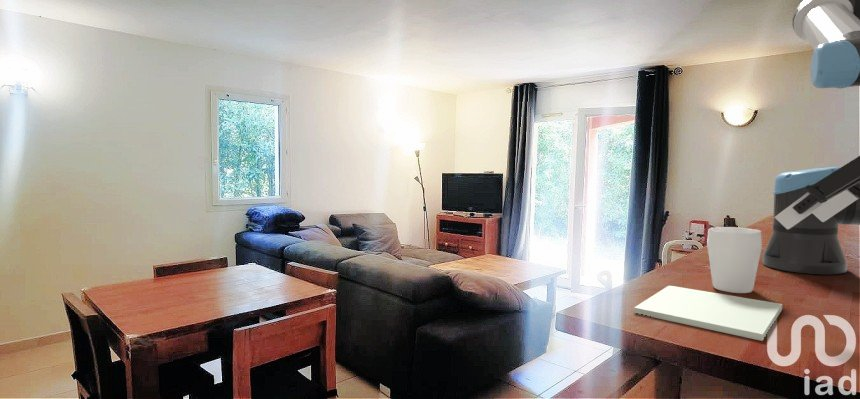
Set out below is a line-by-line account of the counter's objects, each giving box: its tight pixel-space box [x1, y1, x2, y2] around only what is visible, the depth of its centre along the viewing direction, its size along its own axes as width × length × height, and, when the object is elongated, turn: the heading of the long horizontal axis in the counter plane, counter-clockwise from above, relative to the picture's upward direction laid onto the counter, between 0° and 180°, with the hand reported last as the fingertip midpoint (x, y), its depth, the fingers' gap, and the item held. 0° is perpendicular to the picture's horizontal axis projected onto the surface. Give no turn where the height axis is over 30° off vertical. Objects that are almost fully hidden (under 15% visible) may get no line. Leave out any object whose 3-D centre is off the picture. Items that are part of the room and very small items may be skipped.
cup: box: [706, 226, 763, 294], centre depth 88 cm, size 9×9×12 cm
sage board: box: [633, 285, 783, 342], centre depth 76 cm, size 18×18×1 cm
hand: (799, 219), depth 78 cm, fingers open, 13 cm apart
